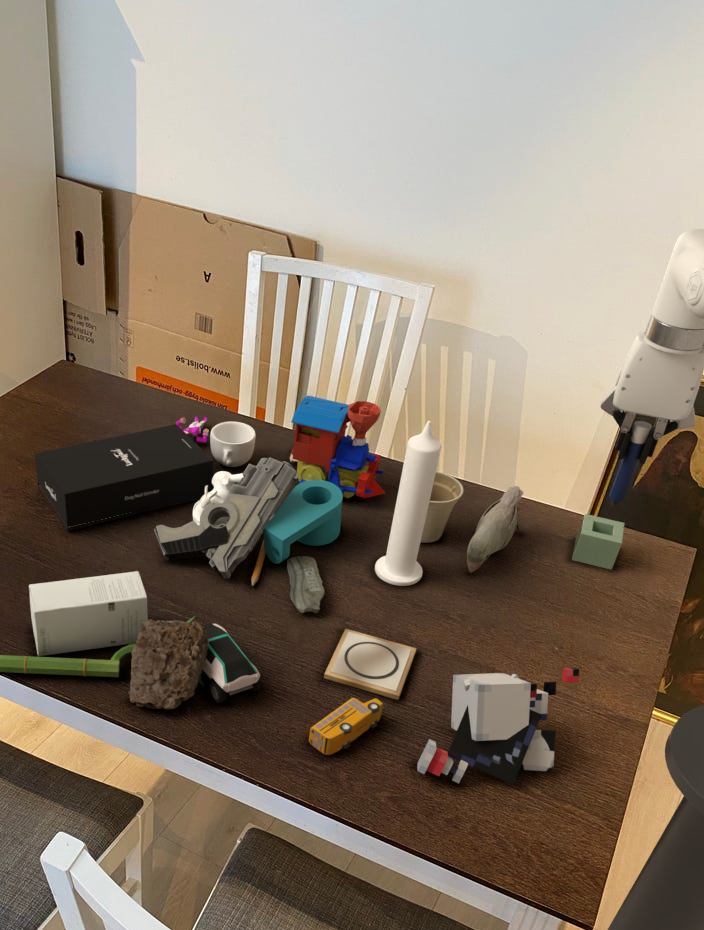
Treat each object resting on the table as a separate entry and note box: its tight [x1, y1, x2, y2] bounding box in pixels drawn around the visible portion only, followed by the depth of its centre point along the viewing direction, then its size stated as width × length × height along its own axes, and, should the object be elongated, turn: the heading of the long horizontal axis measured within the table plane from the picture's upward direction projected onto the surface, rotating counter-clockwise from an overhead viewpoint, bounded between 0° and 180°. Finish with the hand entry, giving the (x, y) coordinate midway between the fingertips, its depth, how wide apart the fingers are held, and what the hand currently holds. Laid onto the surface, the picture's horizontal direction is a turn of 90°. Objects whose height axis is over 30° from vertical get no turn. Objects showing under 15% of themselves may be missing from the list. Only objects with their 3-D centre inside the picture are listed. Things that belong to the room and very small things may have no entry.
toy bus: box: [308, 697, 384, 756], centre depth 114 cm, size 3×10×4 cm
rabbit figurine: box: [192, 470, 244, 525], centre depth 144 cm, size 12×8×10 cm, turn 149°
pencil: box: [250, 513, 275, 588], centre depth 143 cm, size 1×1×19 cm
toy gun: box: [153, 457, 299, 580], centre depth 140 cm, size 4×21×15 cm
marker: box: [608, 420, 653, 508], centre depth 136 cm, size 2×2×13 cm
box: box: [34, 423, 214, 532], centre depth 151 cm, size 25×14×7 cm, turn 118°
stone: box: [286, 555, 325, 614], centre depth 136 cm, size 12×2×5 cm
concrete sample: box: [127, 618, 209, 711], centre depth 117 cm, size 12×10×5 cm
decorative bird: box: [466, 485, 524, 574], centre depth 144 cm, size 5×16×8 cm, turn 147°
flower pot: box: [420, 470, 464, 544], centre depth 146 cm, size 9×9×9 cm
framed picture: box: [323, 628, 417, 701], centre depth 124 cm, size 10×10×1 cm
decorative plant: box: [0, 615, 206, 687], centre depth 121 cm, size 6×8×30 cm
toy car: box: [201, 623, 261, 704], centre depth 120 cm, size 6×12×5 cm, turn 28°
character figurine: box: [175, 415, 210, 444], centre depth 166 cm, size 6×5×12 cm
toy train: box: [290, 394, 386, 499], centre depth 153 cm, size 10×16×15 cm, turn 68°
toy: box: [416, 667, 580, 786], centre depth 112 cm, size 12×17×15 cm
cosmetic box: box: [28, 570, 149, 657], centre depth 124 cm, size 8×6×15 cm
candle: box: [374, 420, 442, 587], centre depth 132 cm, size 7×7×25 cm
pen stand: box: [571, 513, 626, 571], centre depth 145 cm, size 6×6×5 cm
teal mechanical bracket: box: [263, 480, 344, 565], centre depth 143 cm, size 7×15×8 cm
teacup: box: [209, 421, 257, 468], centre depth 160 cm, size 10×8×5 cm
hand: (631, 456), depth 134 cm, fingers closed on marker, 2 cm apart
